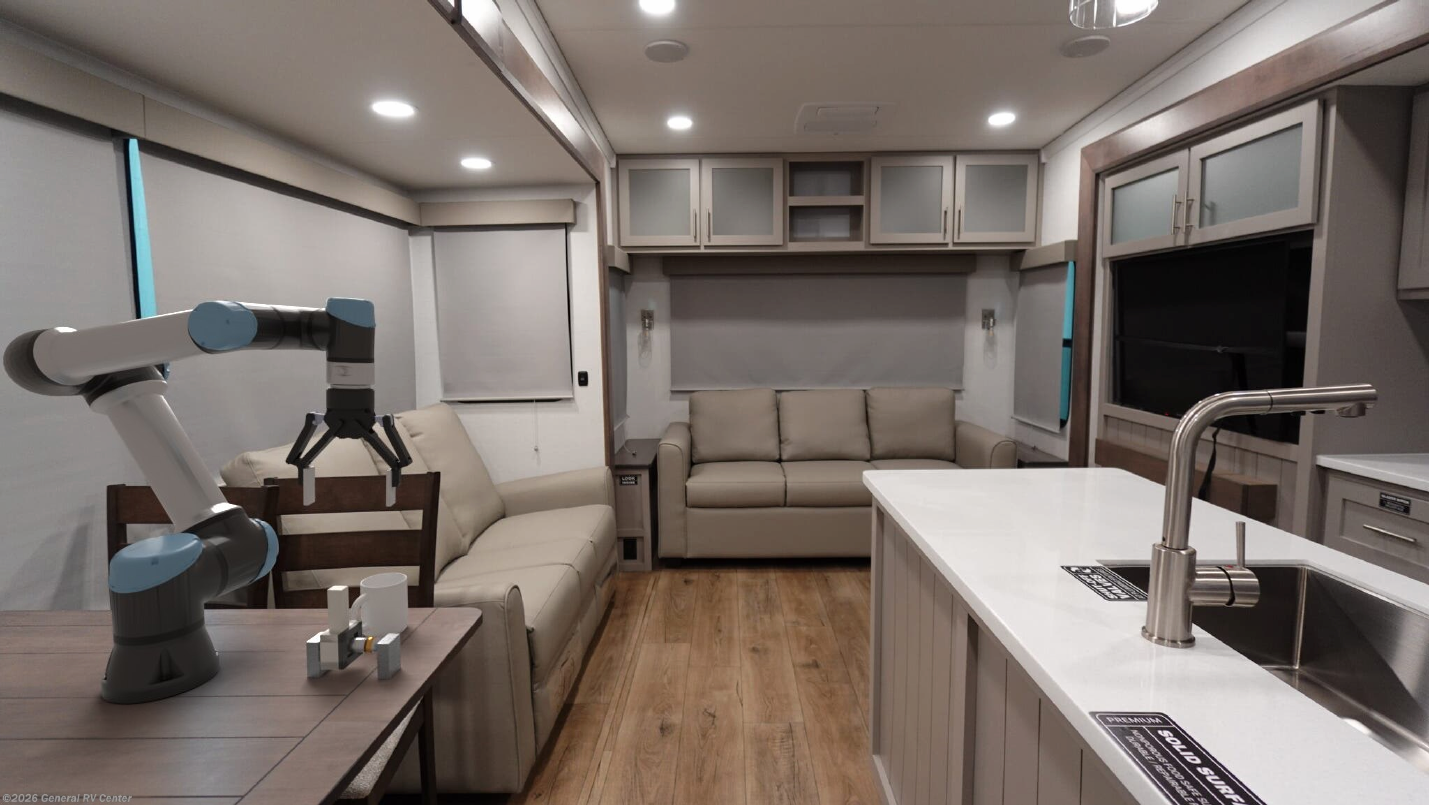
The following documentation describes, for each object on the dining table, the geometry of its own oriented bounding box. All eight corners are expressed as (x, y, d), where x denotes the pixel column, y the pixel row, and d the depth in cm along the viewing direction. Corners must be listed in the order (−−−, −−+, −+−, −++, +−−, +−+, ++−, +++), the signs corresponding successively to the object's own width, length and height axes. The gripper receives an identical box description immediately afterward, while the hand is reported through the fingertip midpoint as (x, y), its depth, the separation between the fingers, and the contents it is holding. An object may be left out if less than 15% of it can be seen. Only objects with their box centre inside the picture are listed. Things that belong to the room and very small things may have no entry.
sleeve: (320, 669, 110) (318, 594, 109) (341, 652, 116) (339, 581, 115) (343, 670, 110) (340, 594, 109) (362, 653, 116) (360, 581, 115)
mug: (367, 651, 121) (365, 597, 121) (334, 643, 124) (332, 590, 124) (417, 625, 133) (416, 576, 132) (386, 618, 136) (385, 570, 135)
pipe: (307, 677, 112) (306, 641, 111) (321, 666, 115) (320, 631, 115) (389, 679, 111) (388, 643, 111) (400, 667, 115) (399, 633, 115)
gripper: (262, 384, 110) (263, 508, 112) (419, 390, 114) (417, 510, 116) (284, 381, 118) (284, 498, 119) (430, 387, 122) (429, 500, 123)
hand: (350, 504), depth 118 cm, fingers open, 13 cm apart
